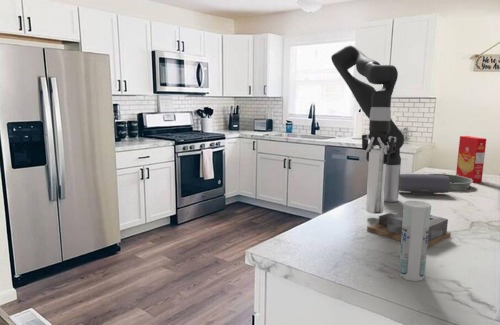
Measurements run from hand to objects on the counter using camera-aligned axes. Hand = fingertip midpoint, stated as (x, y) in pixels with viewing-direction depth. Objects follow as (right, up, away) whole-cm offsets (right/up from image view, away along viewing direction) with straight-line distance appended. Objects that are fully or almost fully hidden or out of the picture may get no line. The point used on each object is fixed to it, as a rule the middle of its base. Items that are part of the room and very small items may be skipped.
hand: (377, 162), depth 143 cm
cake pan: (+58, -13, +60) cm, 85 cm away
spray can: (-6, -31, -44) cm, 54 cm away
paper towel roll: (0, -20, +3) cm, 20 cm away
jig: (+6, -25, -13) cm, 29 cm away
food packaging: (+79, -10, +74) cm, 109 cm away
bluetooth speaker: (+37, -16, +42) cm, 58 cm away
